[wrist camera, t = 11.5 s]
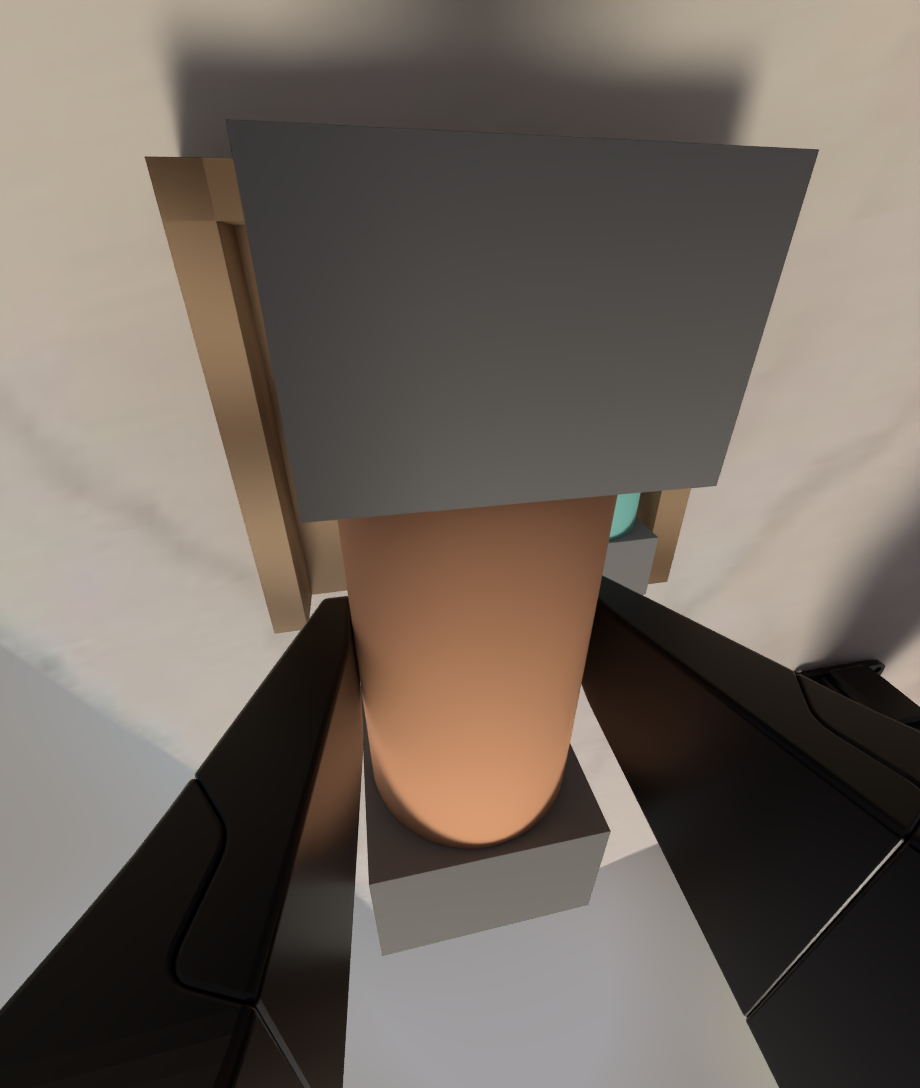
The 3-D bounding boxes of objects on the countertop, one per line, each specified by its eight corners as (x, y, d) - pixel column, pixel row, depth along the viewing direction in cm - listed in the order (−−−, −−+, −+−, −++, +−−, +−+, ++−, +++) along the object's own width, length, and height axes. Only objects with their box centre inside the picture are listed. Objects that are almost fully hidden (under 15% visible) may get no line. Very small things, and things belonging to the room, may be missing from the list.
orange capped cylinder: (523, 733, 12) (587, 904, 9) (371, 761, 12) (382, 955, 8) (585, 198, 6) (819, 149, 3) (289, 190, 6) (224, 118, 3)
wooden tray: (634, 548, 23) (667, 581, 21) (283, 589, 20) (274, 633, 18) (709, 180, 16) (772, 167, 13) (181, 174, 13) (144, 156, 11)
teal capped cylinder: (601, 544, 22) (645, 594, 18) (520, 553, 21) (550, 607, 18) (647, 258, 16) (722, 260, 13) (537, 260, 15) (587, 262, 12)
